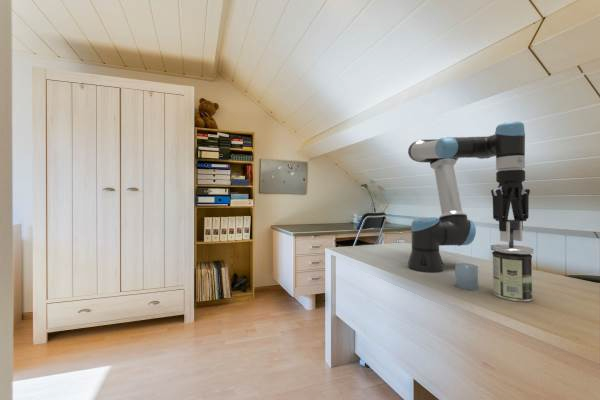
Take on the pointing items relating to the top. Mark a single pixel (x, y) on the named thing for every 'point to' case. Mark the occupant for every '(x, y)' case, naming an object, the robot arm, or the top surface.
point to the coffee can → (512, 276)
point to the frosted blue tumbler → (466, 276)
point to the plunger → (512, 242)
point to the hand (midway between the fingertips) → (511, 240)
